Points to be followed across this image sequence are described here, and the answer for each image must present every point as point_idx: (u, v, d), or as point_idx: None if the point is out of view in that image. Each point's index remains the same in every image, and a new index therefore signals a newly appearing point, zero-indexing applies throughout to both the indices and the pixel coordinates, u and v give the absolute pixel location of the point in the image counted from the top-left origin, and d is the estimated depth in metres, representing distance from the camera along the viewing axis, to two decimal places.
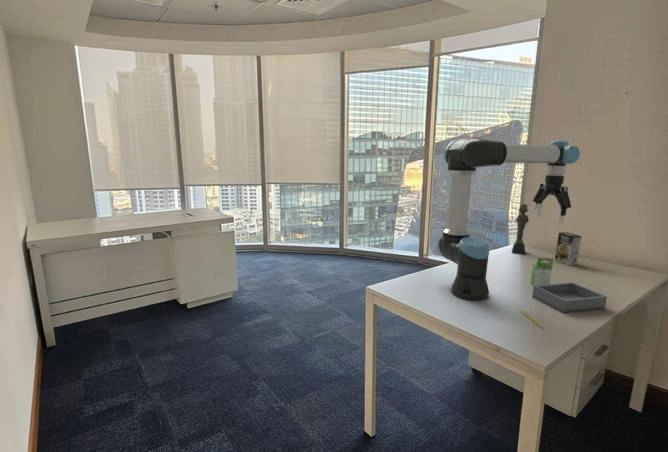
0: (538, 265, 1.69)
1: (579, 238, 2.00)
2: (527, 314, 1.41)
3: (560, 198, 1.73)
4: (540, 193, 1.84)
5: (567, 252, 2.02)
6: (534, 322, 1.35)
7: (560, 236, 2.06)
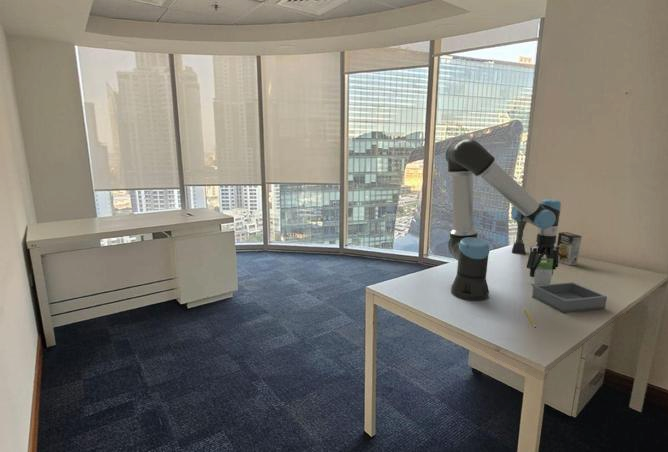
0: (538, 265, 1.69)
1: (579, 238, 2.00)
2: (528, 314, 1.41)
3: (535, 258, 1.69)
4: (553, 256, 1.71)
5: (567, 252, 2.02)
6: None
7: (560, 236, 2.06)
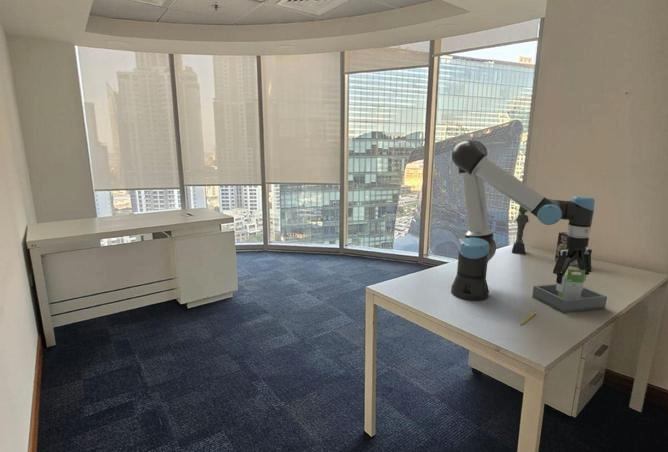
0: (568, 277, 1.50)
1: None
2: (531, 315, 1.40)
3: (563, 263, 1.49)
4: (585, 260, 1.51)
5: None
6: (524, 320, 1.37)
7: (560, 236, 2.06)
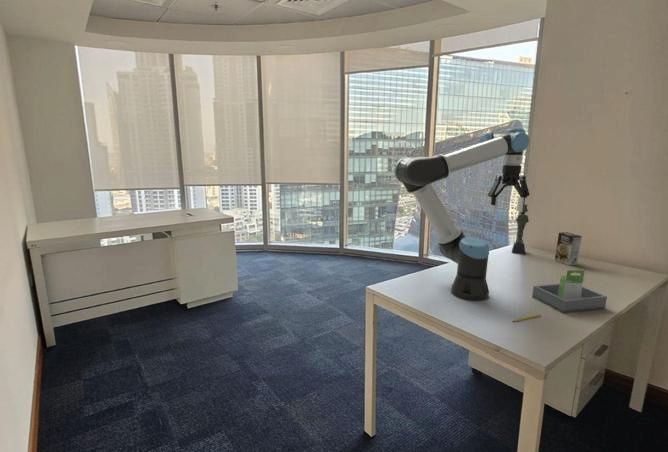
0: (568, 278, 1.50)
1: (579, 238, 2.00)
2: None
3: (498, 187, 1.68)
4: (522, 186, 1.71)
5: (567, 252, 2.02)
6: None
7: (560, 236, 2.06)
